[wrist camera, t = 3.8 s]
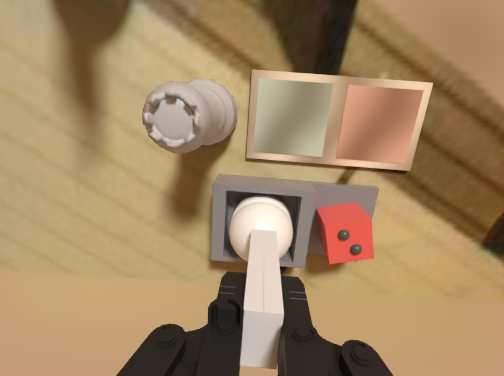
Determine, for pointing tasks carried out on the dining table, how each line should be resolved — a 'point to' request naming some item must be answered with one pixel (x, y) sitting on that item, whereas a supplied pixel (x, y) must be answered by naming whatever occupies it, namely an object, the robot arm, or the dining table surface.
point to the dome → (260, 222)
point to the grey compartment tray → (302, 218)
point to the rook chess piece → (189, 114)
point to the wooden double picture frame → (335, 119)
